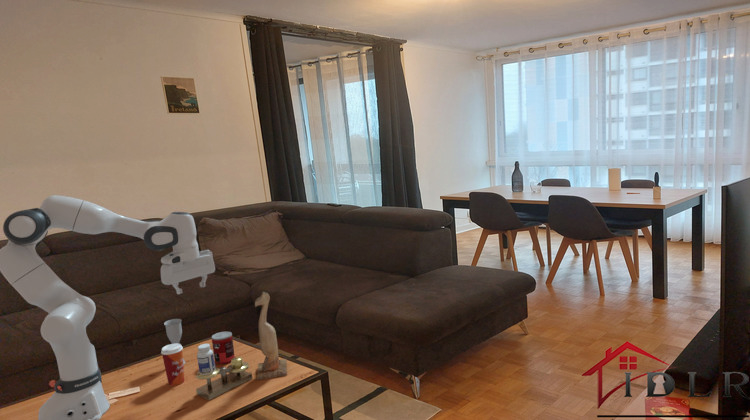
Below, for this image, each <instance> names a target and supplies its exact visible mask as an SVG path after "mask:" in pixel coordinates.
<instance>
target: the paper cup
mask: <svg viewBox="0 0 750 420" xmlns="http://www.w3.org/2000/svg"><path fill="white" fill-rule="evenodd" d="M183 347H184V346H182V344H181V343H175V344H172V343H171V344H166V345H165V346H163V347H162V348H161V352H160V354H161V355H162V360H163V364H164V368H165V370H164V371H165V373H166V374H165V375H166V378H167V383H168V385H169V386H171V387H173V386H179V385H182V384H183V383H185V369H184V367H185V365H184V364H183V359H184V358H183V357H184V356H183V355H184V354H183V349H184V348H183Z"/></svg>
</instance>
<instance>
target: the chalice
mask: <svg viewBox="0 0 750 420" xmlns="http://www.w3.org/2000/svg"><path fill="white" fill-rule="evenodd" d="M182 321H183V320H182V319H181V318H173V319H169V320H166V321H165V322H164V323H163V324H164V326H165V331H166V332H165V333H166V336H167V338H168V340H169V341H170V343H171V344H175V343H178V344H180V341H181V340H182V334H183V329H182V327H183V326H182ZM185 364H186V361H185V359H184V358H183V365H185Z"/></svg>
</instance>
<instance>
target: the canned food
mask: <svg viewBox="0 0 750 420" xmlns="http://www.w3.org/2000/svg"><path fill="white" fill-rule="evenodd" d="M211 343H212V345H211V346H212V351H213V356H214V362H215V364H217V365H226V364H229V363H230V364H231V359H233V358H235V356H236V355H235V349H234V339H233V333H232V332H231V331H220V332H216V333H215V334H212V335H211Z"/></svg>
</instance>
